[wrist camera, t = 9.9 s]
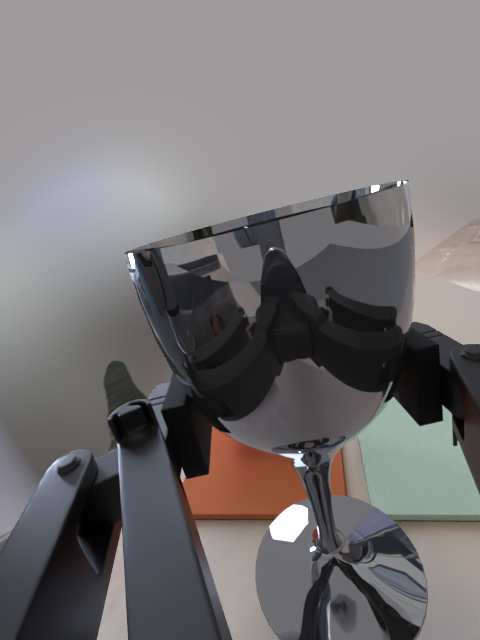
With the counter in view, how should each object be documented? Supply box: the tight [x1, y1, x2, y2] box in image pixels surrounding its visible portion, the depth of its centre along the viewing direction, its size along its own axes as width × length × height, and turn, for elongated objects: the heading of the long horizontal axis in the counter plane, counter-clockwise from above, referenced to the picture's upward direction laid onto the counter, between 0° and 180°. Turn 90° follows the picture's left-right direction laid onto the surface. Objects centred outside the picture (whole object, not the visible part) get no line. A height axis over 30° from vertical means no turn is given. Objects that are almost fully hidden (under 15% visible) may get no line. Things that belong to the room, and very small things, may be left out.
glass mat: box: [358, 397, 480, 521], centre depth 26 cm, size 13×16×1 cm
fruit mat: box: [183, 426, 346, 519], centre depth 30 cm, size 13×16×1 cm
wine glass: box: [124, 180, 428, 640], centre depth 12 cm, size 8×8×15 cm
